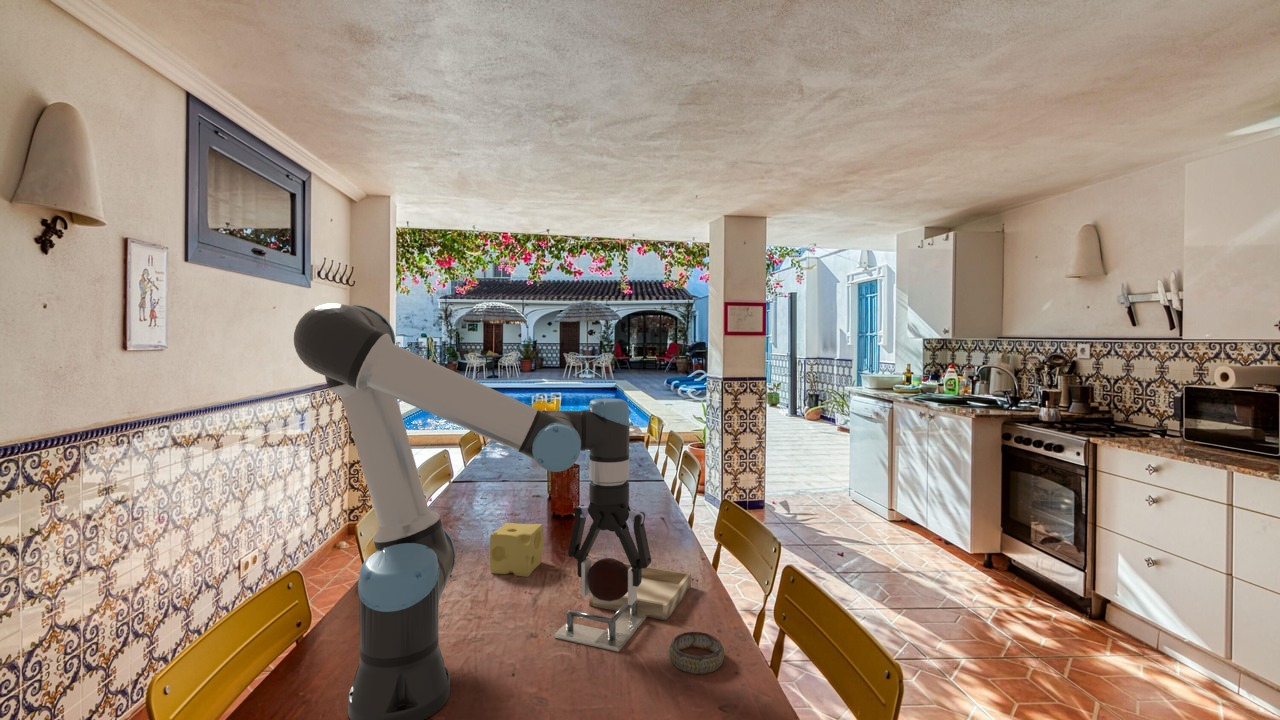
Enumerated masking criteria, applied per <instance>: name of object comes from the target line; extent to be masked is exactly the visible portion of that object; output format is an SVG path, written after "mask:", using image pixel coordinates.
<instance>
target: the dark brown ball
mask: <svg viewBox="0 0 1280 720" xmlns="http://www.w3.org/2000/svg"><path fill="white" fill-rule="evenodd" d="M624 563H625V562H624ZM624 563H623V561H621V560H619V559H616V558H612V557H606V558H601V559H599V560H597V561H596V562H594V563H593V564H591V568H590V570H589V573H588V587H589V590H590V592H591V593H592V595H593V596H595V597H596V598H598V599H599V600H604V601H614V600H618V599H620V598H622V597H623V596H624V595H625V594H626V593H627V592H628V570H629V569H628V568H627V567H626V565H625V564H624Z"/></svg>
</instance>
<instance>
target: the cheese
mask: <svg viewBox="0 0 1280 720" xmlns="http://www.w3.org/2000/svg"><path fill="white" fill-rule="evenodd" d="M489 535H490V537H489V567H490V568H489V569H490V573H491V574H495V575H496V574H497V575H508V574H513V575H514V576H518V577H524V578H529V577H530V575H532V572H533V571H535V570H536V568H537V567H539V565H541V563H542V561H543V555H544V554H543V553H544V540H545V538H544V537H545V534H544V526H543V523H516V522H514V523H513V522H505V523H504V524H503V525H502V526H500V527H499V528H498V529H496V530H495V531H493V532H492V533H491V534H489Z"/></svg>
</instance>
